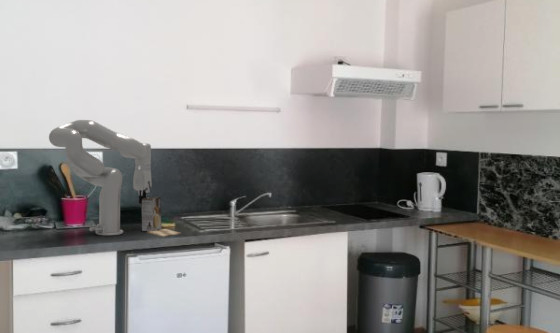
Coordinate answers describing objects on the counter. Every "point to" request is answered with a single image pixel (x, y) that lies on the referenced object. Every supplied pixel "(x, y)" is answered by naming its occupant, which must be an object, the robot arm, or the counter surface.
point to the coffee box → (151, 213)
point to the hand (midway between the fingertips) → (142, 203)
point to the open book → (163, 232)
